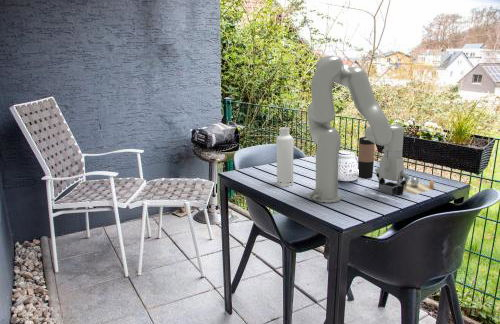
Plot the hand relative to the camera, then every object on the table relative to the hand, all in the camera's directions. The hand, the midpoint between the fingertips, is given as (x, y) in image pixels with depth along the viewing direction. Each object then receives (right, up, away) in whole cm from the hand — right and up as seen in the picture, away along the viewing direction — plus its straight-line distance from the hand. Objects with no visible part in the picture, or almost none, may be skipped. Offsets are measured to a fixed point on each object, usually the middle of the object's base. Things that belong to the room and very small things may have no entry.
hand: (390, 191), depth 170 cm
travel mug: (-3, +5, +27) cm, 28 cm away
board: (+12, 0, +5) cm, 13 cm away
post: (+13, +2, +5) cm, 14 cm away
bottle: (-45, +2, +19) cm, 49 cm away
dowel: (+19, +1, +2) cm, 19 cm away
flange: (+3, -1, +2) cm, 3 cm away
